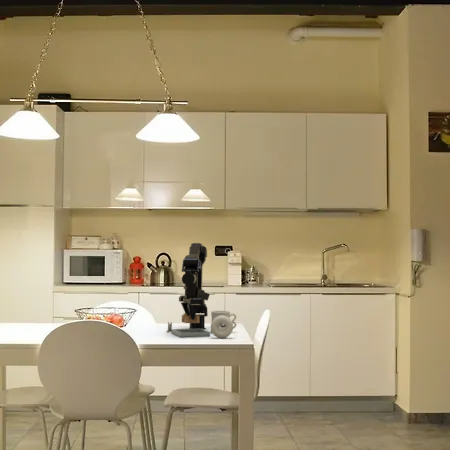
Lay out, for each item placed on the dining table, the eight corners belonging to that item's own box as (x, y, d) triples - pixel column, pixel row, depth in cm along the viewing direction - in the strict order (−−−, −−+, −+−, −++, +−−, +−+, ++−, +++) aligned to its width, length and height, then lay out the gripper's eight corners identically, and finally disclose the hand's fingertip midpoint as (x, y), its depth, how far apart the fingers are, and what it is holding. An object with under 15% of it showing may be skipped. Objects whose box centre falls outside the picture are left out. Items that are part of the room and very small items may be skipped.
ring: (181, 321, 305) (181, 312, 305) (195, 321, 307) (195, 312, 308) (185, 323, 299) (186, 314, 299) (199, 322, 301) (199, 313, 302)
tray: (200, 332, 312) (200, 328, 312) (210, 336, 299) (210, 331, 299) (171, 333, 307) (171, 329, 307) (180, 337, 294) (180, 332, 294)
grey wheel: (233, 338, 295) (233, 315, 295) (232, 339, 291) (233, 316, 292) (210, 337, 295) (211, 314, 296) (210, 338, 292) (210, 315, 292)
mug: (212, 334, 308) (213, 312, 308) (208, 331, 317) (209, 310, 317) (238, 333, 311) (239, 312, 311) (234, 331, 320) (234, 310, 320)
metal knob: (171, 331, 315) (172, 322, 315) (173, 332, 312) (173, 322, 312) (165, 331, 314) (165, 322, 314) (167, 332, 311) (167, 322, 311)
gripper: (214, 285, 298) (214, 320, 297) (201, 283, 315) (200, 316, 315) (191, 285, 294) (190, 321, 293) (178, 283, 312) (178, 317, 311)
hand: (190, 318), depth 303 cm, fingers closed on ring, 6 cm apart
